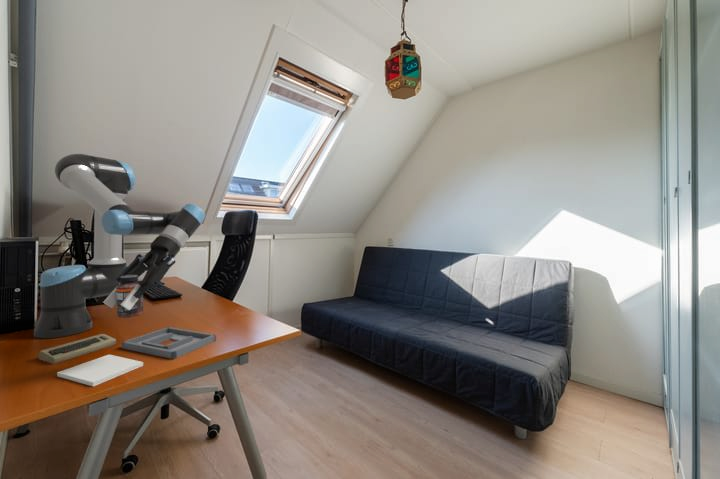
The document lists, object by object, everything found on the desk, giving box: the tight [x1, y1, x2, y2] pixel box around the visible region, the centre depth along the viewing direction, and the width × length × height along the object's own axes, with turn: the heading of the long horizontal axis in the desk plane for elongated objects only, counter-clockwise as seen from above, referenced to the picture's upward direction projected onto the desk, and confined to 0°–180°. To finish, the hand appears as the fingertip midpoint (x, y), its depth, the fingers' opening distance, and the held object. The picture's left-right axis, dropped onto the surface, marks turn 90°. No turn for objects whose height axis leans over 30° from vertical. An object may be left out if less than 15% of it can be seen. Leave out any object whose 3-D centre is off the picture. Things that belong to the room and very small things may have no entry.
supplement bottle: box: [116, 275, 144, 319], centre depth 86 cm, size 6×6×11 cm
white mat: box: [56, 354, 144, 387], centre depth 81 cm, size 14×12×1 cm
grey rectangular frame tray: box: [121, 326, 217, 360], centre depth 100 cm, size 22×16×2 cm
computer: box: [38, 333, 117, 365], centre depth 93 cm, size 16×8×3 cm, turn 158°
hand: (116, 306), depth 83 cm, fingers closed on supplement bottle, 6 cm apart
